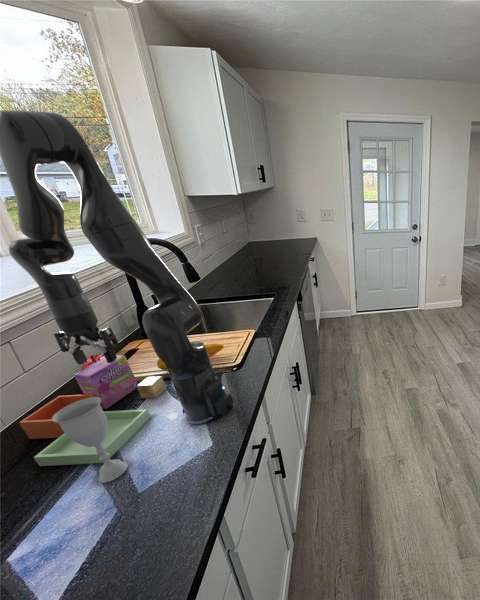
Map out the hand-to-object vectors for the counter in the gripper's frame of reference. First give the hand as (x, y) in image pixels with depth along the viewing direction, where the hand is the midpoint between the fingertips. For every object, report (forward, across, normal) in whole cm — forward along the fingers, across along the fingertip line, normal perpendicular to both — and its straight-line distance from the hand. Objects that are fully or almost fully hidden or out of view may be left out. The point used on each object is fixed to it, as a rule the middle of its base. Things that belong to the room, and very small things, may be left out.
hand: (97, 362), depth 90 cm
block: (+13, +11, +1) cm, 17 cm away
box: (+13, 0, 0) cm, 13 cm away
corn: (+13, +14, +17) cm, 26 cm away
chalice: (+13, +22, -27) cm, 37 cm away
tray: (+13, +10, -17) cm, 23 cm away
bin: (+13, -4, -10) cm, 17 cm away
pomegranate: (+13, -14, +11) cm, 22 cm away
